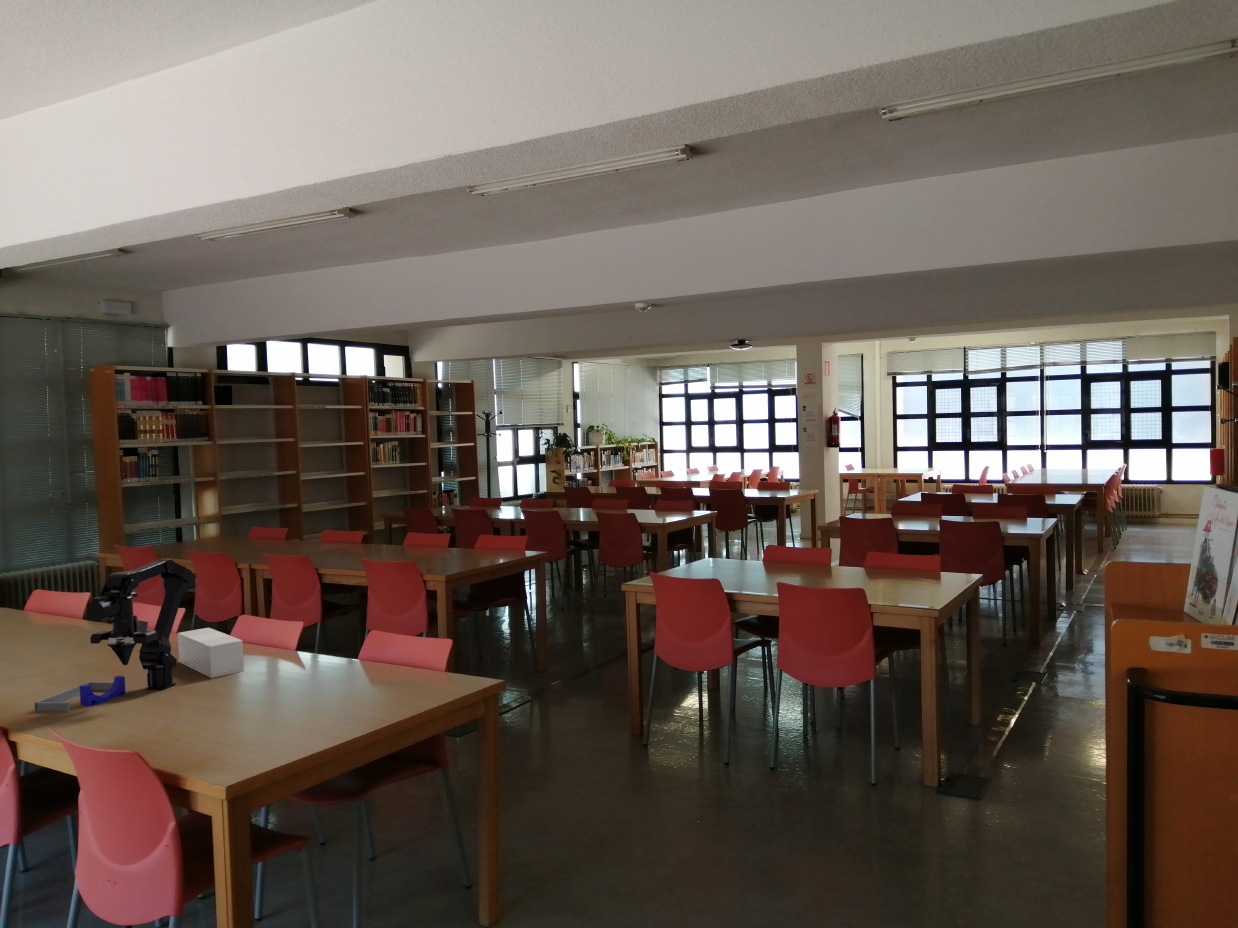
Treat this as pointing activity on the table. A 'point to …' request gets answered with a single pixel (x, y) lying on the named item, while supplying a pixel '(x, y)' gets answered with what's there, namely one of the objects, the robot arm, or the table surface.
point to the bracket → (67, 697)
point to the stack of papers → (211, 652)
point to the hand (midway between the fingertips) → (125, 664)
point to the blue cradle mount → (91, 699)
